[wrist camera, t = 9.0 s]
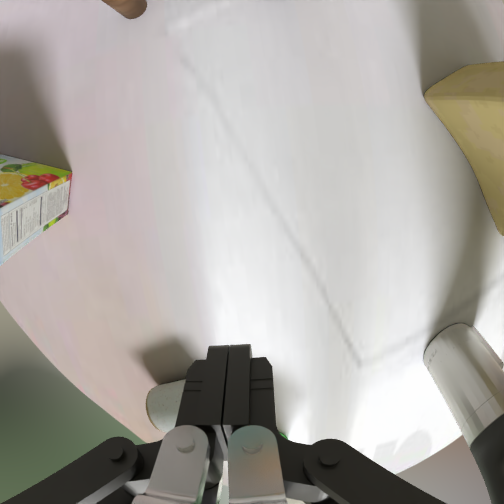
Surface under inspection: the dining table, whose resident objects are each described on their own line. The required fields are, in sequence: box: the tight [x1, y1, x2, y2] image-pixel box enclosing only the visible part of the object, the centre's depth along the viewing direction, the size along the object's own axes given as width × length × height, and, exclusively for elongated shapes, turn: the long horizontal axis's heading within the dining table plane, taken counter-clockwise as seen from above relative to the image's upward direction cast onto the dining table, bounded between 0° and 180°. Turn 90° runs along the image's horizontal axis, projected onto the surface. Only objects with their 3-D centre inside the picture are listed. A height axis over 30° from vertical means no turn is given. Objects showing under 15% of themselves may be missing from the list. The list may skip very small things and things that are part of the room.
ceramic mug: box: [146, 379, 186, 432], centre depth 37 cm, size 11×8×8 cm
